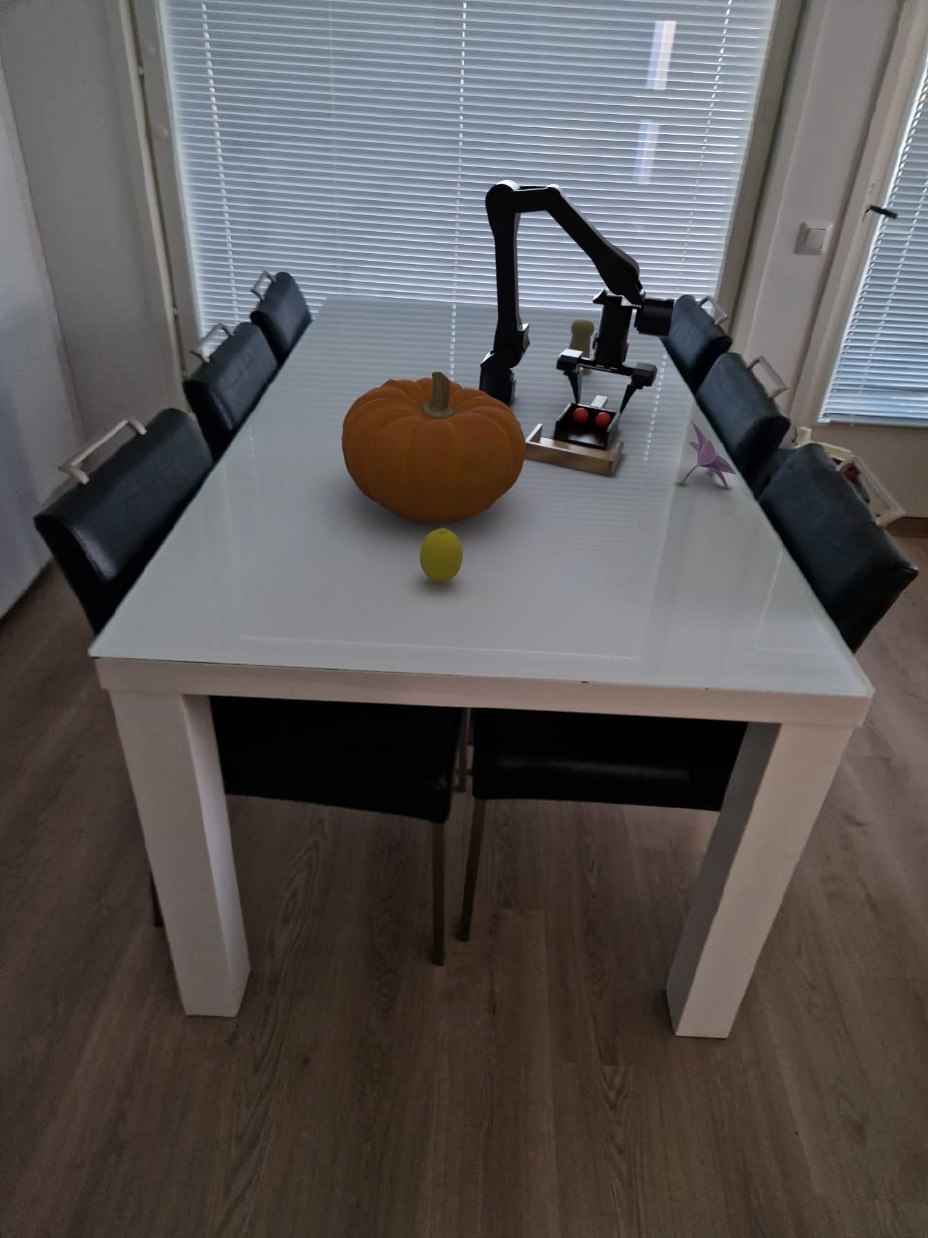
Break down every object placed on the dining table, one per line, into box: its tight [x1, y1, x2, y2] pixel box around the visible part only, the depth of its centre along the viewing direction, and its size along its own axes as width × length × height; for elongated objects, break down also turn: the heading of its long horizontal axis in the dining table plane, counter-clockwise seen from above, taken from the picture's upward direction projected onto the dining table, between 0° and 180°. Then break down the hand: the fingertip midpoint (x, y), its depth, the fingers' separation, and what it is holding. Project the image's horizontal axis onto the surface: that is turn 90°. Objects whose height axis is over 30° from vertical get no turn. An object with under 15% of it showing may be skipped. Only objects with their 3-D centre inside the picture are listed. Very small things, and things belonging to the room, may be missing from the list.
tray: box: [525, 423, 625, 477], centre depth 147 cm, size 16×10×3 cm, turn 70°
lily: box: [680, 420, 737, 490], centre depth 141 cm, size 12×12×10 cm
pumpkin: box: [341, 371, 526, 525], centre depth 123 cm, size 28×28×20 cm
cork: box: [567, 318, 595, 375], centre depth 186 cm, size 6×6×11 cm
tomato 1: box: [573, 408, 588, 424], centre depth 158 cm, size 3×3×3 cm
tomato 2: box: [595, 412, 611, 429], centre depth 157 cm, size 3×3×3 cm
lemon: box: [419, 527, 464, 584], centre depth 107 cm, size 6×6×8 cm
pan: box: [553, 395, 622, 450], centre depth 158 cm, size 18×10×4 cm, turn 160°
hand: (599, 410), depth 164 cm, fingers open, 8 cm apart
